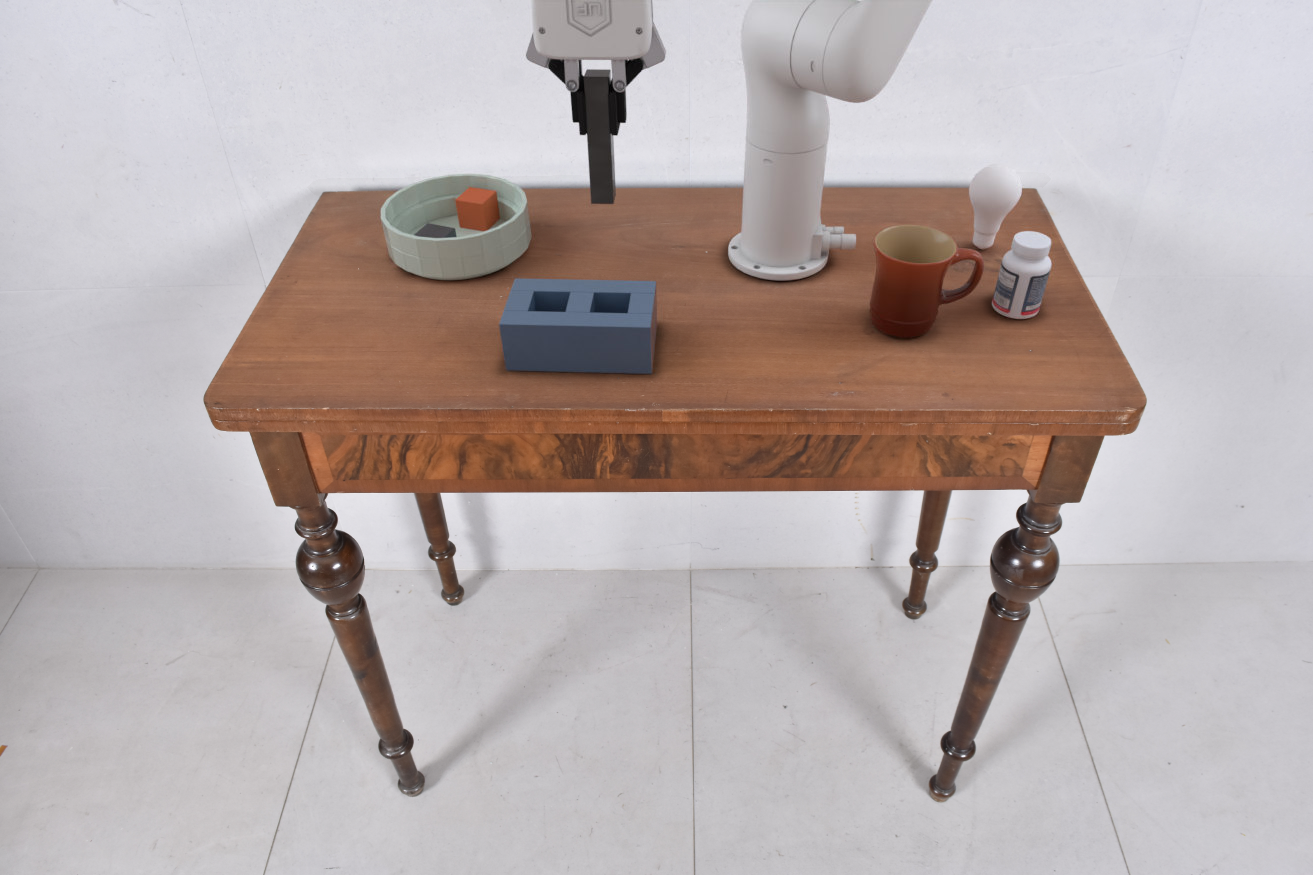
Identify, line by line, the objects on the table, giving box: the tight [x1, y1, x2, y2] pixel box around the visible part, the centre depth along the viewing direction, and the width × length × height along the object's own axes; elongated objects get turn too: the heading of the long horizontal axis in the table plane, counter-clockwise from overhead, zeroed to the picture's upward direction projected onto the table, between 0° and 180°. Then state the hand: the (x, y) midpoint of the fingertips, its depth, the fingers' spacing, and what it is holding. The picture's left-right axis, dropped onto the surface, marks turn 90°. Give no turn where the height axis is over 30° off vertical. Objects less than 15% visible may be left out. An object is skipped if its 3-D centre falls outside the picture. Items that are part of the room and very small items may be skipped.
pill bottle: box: [991, 230, 1052, 320], centre depth 105 cm, size 5×5×9 cm
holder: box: [498, 277, 658, 375], centre depth 101 cm, size 9×16×6 cm, turn 86°
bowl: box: [380, 173, 532, 281], centre depth 119 cm, size 18×18×6 cm
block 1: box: [414, 223, 457, 238], centre depth 115 cm, size 4×4×4 cm
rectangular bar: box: [583, 68, 617, 205], centre depth 87 cm, size 2×2×12 cm
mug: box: [869, 224, 985, 339], centre depth 102 cm, size 12×9×10 cm
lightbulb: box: [968, 163, 1023, 250], centre depth 115 cm, size 6×6×11 cm
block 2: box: [455, 187, 500, 231], centre depth 123 cm, size 4×4×4 cm
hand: (600, 128), depth 86 cm, fingers closed on rectangular bar, 2 cm apart
